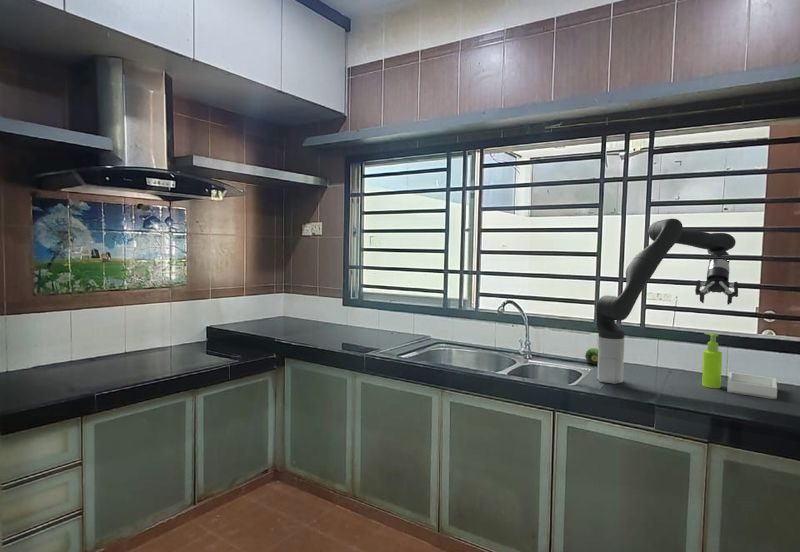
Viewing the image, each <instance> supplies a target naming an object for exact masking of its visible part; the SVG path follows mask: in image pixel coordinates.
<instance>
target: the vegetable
mask: <svg viewBox="0 0 800 552" xmlns="http://www.w3.org/2000/svg"><path fill="white" fill-rule="evenodd" d="M584 357H585V359H586V361H587V362H588V363H589V364H591V365H597V366H598V347H597V348H596V347H590V348H588V349H587V350H586V353H585V355H584Z"/></svg>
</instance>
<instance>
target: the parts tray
mask: <svg viewBox="0 0 800 552" xmlns="http://www.w3.org/2000/svg"><path fill="white" fill-rule="evenodd" d="M726 391H727V393H732V394H737V395H743V396H744V395H745V396H751V397H757V398H758V397H759V398H762V399H769V400H770V399H771V400H778V399H777V397H778V385H777V379H776V377H769V376H761V375H754V374H747V373H737V372H732V371H729V373H728V377H727V389H726Z"/></svg>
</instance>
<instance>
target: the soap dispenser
mask: <svg viewBox="0 0 800 552" xmlns="http://www.w3.org/2000/svg"><path fill="white" fill-rule="evenodd" d="M703 334H704V335H708V336H710V340H709V341H708V342H707V349H706V350H702V351H703V352H702V378H701V380H702V381H701V385H702V386H703V387H706V388H709V389H720V388H721V387H722V384H721V383H722V363H723V362H722V361H723V352H722V351H719V343H718V342H717V337H719V334H717V333H715V332H703Z"/></svg>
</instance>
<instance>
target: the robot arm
mask: <svg viewBox="0 0 800 552" xmlns="http://www.w3.org/2000/svg"><path fill="white" fill-rule="evenodd" d="M647 234H648V236H649V238H650V239H651V240H652V243H650V244H649V245H648V246H647V247H645V248H643V249H642V250H640V251H639V252H638V253H637V254H636V255H635V256H634V257H633V258H632V260H631V262H629V264H628V266H627V267H626V269H625V283H626V286H625V287H624V289H623V291H622V292H621V294H619V296H617V295H615V296H614V295H602V296H600V297H599V299H598V300H597V302H596V312H595V313H596V328H597V329H596V330H597V332H598V341H597V342H598V344H597V345H598V346H597V349H598V364H597V380H598V382H600V383H607V384H613V385H616V384H623V382H624V358H625V357H624V355H625V330H623V328H621V327H619V326H618V324H617V323H616V322H617V321H618V322H622V321H624V320H626V319H627V318H628V317H629V315H630V314H631V313H632V310H633V308H634V306H635V304H636V302H637V300H638V298H639V296H640V295H641V293H642V291H643V289H644V288H645V286H646V285H647V283H648V282H649V280H650V279H651V278H652V276H653V275H654V273H655V271H656V270H657V269H658V268H659V265H660V264H661V262H662V261H663V259H664V258H665V257H666V255H667V254H668V252H670V250H671V248H673V246H674V245H675V244H678V245H684V246H688V247H693V248H697V249H702V250H706V251H707V254H708V255H709V254H711V255H717V256H718V257H721V256H722V255H729V256H730V254H729V252H727V251H730V250H731V249H733V248H734V247H735V245H736V243H737V241H736V238H735V237H734V236H732V235H731V234H729V233H726V232H711V233H709V232H708V231H707V232H705V231H702V230H696V229H694V230H693V229H684V227H683V224H682V222H681V220H679V219H677V218H666V219H661V220H656V221H655V222H653V223H651V225H649V227H648V233H647ZM729 279H730V260H729V261H727V260H723V259H712V260H709V261H708V266H707V273H706V281H701V280H700V279H699V280H697V281H696V285H695V290H694V291H695V295H696V296H698V295H699V302H701V304H704V303H705V296H706V295H708V294H709V293H720V294H721V293H722V294H724V295H725V296H727V301H726V302H727V304H726V305H730V304H732V303H733V298H734V297H735V298H738V296H739V282H738V281H734V282H730V281H729ZM702 287H703V289H701V288H702ZM730 287H731V288H732V289H733V291H732V290H731V289H730ZM615 321H616V322H615Z"/></svg>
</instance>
